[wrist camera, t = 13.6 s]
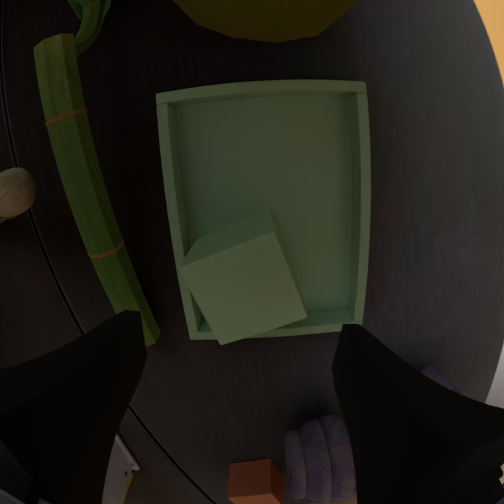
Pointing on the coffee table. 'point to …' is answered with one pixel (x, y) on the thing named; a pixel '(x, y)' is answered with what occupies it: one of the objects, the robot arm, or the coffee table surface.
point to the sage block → (243, 279)
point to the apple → (266, 17)
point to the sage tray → (275, 184)
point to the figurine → (15, 192)
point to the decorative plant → (86, 162)
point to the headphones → (329, 455)
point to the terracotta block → (255, 483)
